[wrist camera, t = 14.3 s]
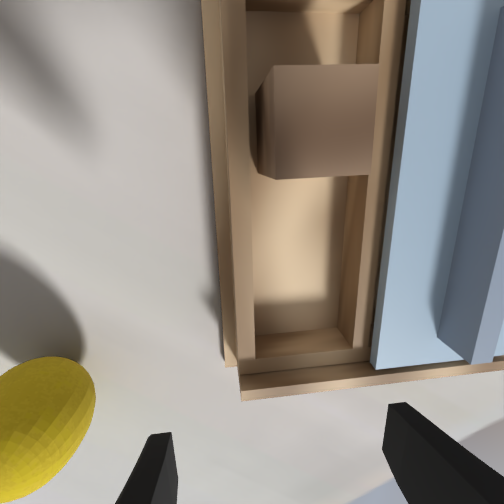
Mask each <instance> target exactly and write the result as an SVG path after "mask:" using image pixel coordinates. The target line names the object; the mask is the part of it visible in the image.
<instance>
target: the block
mask: <svg viewBox="0 0 504 504" xmlns="http://www.w3.org/2000/svg"><path fill="white" fill-rule="evenodd" d="M378 76H379V64H329V65H274V66H273V67H272V69H271V70H270V72H269V73H268V75H267V76H266V78H265V79H264V81H263V82H262V84H261V85H260V87H259V88H258V90H257V91H256V93H255V107H256V134H257V161H258V173H259V174H261V175H264V176H267V177H269V178H272V179H275V180H283V179H301V178H318V177H336V176H354V175H371V166H372V153H373V140H374V127H375V115H376V102H377V89H378Z"/></svg>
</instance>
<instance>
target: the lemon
mask: <svg viewBox="0 0 504 504" xmlns="http://www.w3.org/2000/svg"><path fill="white" fill-rule="evenodd" d="M95 400H96V396H95V388H94V383H93V381H92V379H91V377H90V375H89V373H88V372H87V371H86V370H85V369H84V368H83V367H82V366H81V365H79V364H78V363H77V362H75V361H72V360H70V359H68V358H63V357H41V358H36V359H32V360H29V361H27V362H24V363H22V364H20V365H18V366H15V367H13V368H12V369H10V370H8V371H7V372H6V373H4V374H3V375H2V376H0V503H5V502H10V501H13V500H16V499H19V498H22V497H25V496H26V495H28V494H30V493H32V492H34V491H36V490H37V489H39V488H41V487H42V486H43V485H45V484H46V483H47V482H49V481H50V480H51V479H52V478H53V477H54V476H55V475H56V474H57V473H58V472H59V471H60V470H61V469H62V468H63V467H64V466H65V464H66V463H67V462H68V461H69V459H70V458H71V457H72V455H73V454H74V453H75V451H76V450H77V448H78V446H79V445H80V443H81V441H82V440H83V438H84V436H85V434H86V432H87V430H88V428H89V426H90V423H91V420H92V417H93V413H94V407H95Z"/></svg>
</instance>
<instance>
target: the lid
mask: <svg viewBox="0 0 504 504" xmlns="http://www.w3.org/2000/svg"><path fill="white" fill-rule="evenodd" d="M501 355H504V0H411V6H410V15H409V23H408V32H407V41H406V50H405V58H404V67H403V76H402V85H401V93H400V102H399V111H398V120H397V128H396V137H395V146H394V155H393V163H392V172H391V181H390V190H389V198H388V207H387V216H386V224H385V233H384V242H383V251H382V259H381V268H380V277H379V286H378V294H377V303H376V312H375V321H374V329H373V338H372V347H371V356H370V363H371V364H372V366H373V367H374V368H375V369H376V370H377V369H386V368H395V367H404V366H413V365H421V364H430V363H439V362H448V361H457V360H466V361H467V362H468V363H469V364H470V365H473V364H482V363H491V362H492V361H493V357H494V356H501Z"/></svg>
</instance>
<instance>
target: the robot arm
mask: <svg viewBox="0 0 504 504" xmlns="http://www.w3.org/2000/svg"><path fill="white" fill-rule="evenodd" d="M382 450H383V453H384V455H385V457H386V460H387V462H388V464H389V467H390V469H391V471H392V473H393V475H394V477H395V480H396V482H397V484H398V486H399V487H400V489H401V491H402V493H403V495H404V497H405V498H406V500H407V502H408V504H504V477H503V476H502V475H500V474H499V473H498V472H496V471H495V470H493V469H492V468H491V467H489V466H488V465H487V464H485V463H484V462H483V461H481V460H480V459H478V458H477V457H476V456H475V455H473V454H472V453H470V452H469V451H468V450H466V449H465V448H464V447H463V446H461V445H460V444H459V443H458V442H456V441H455V440H454V439H452V438H451V437H450V436H449V435H447V434H446V433H445V432H443V431H442V430H441V429H440V428H438V427H437V426H436V425H434V424H433V423H432V422H431V421H429V420H428V419H427V418H426V417H424V416H423V415H422V414H421V413H419V412H418V411H417V410H415V409H414V408H413V407H411V406H410V405H409V404H408V403H406V402H402V403H394V404H389V405H388V412H387V419H386V426H385V433H384V439H383V446H382ZM177 489H178V475H177V468H176V461H175V454H174V447H173V440H172V433H171V432H167V433H159V434H152V435H150V436H149V437H148V439H147V441H146V444H145V446H144V448H143V450H142V452H141V454H140V457H139V459H138V461H137V463H136V465H135V467H134V469H133V471H132V473H131V475H130V477H129V479H128V481H127V483H126V485H125V486H124V488H123V490H122V492H121V494H120V496H119V497H118V499H117V501H116V503H115V504H177Z"/></svg>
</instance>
